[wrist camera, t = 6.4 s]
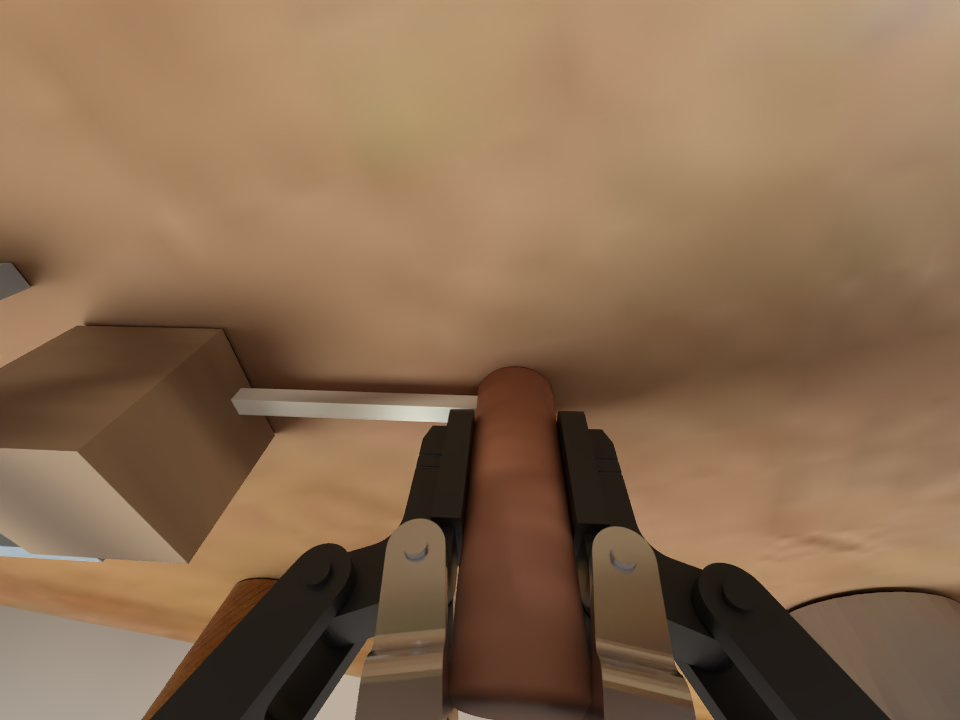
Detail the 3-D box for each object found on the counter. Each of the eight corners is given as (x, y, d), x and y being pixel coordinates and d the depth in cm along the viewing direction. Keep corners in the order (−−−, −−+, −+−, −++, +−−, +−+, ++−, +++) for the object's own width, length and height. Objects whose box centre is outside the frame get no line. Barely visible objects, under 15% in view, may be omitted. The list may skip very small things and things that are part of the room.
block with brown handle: (560, 337, 11) (628, 665, 5) (545, 446, 14) (575, 740, 8) (77, 325, 12) (-400, 588, 6) (157, 430, 15) (-100, 681, 9)
